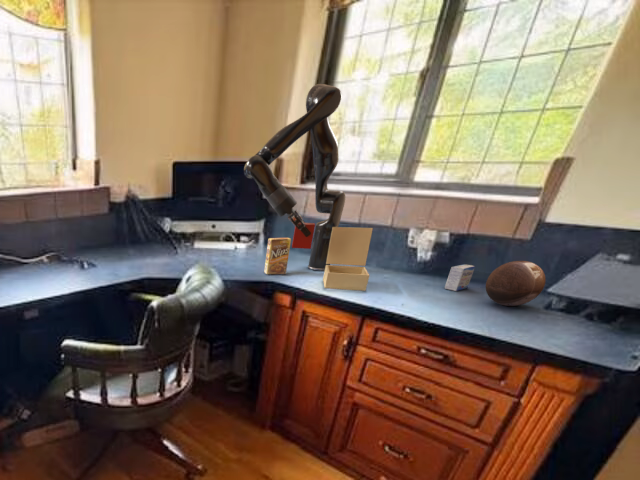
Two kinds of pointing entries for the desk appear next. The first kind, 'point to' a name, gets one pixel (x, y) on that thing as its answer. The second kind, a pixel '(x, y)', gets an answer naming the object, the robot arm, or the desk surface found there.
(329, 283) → the chest
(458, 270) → the medicine box
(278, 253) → the candy box
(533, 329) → the desk surface
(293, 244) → the red box
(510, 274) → the brown wooden egg
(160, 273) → the desk surface
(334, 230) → the chest lid
